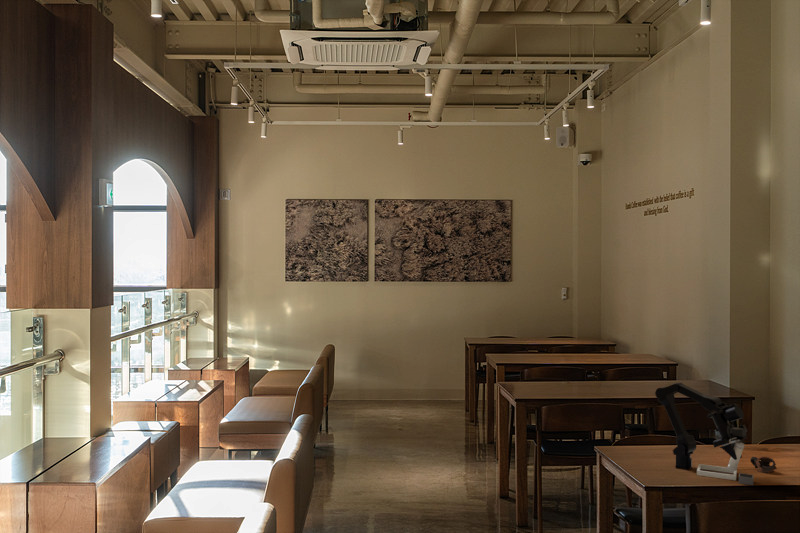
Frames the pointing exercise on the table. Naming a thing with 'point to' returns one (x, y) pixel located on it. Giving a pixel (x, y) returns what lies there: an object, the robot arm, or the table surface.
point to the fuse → (738, 451)
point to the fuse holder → (745, 479)
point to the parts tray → (716, 475)
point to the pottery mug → (763, 464)
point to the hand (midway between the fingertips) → (738, 458)
